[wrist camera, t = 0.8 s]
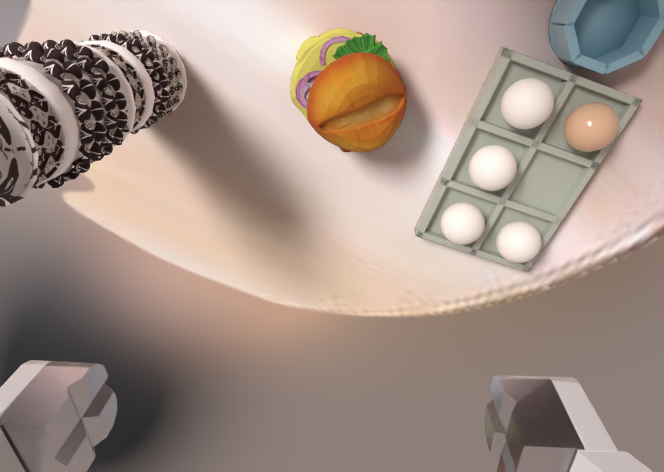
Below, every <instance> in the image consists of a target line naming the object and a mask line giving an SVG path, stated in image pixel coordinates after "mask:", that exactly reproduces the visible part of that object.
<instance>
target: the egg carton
mask: <svg viewBox="0 0 664 472" xmlns="http://www.w3.org/2000/svg"><path fill="white" fill-rule="evenodd" d="M641 101H642V100H641V99H639V98H636V97H633V96H631V95H628V94H625V93H623V92H620V91H617V90H615V89H612V88H610V87H607V86H604V85H602V84H599V83H596V82H594V81H591V80H588V79H586V78H583V77H580V76H578V75H575V74H573V73H570V72H567V71H565V70H562V69H559V68H557V67H554V66H551V65H549V64H546V63H543V62H541V61H538V60H536V59H533V58H530V57H528V56H525V55H522V54H520V53H517V52H514V51H512V50H509V49H506V48H504V47H501V49H500V51H499V53H498V55H497V58H496V60H495V62H494V64H493V66H492V68H491V70H490V72H489V74H488V76H487V78H486V80H485V82H484V85H483V87H482V89H481V91H480V93H479V95H478V97H477V99H476V101H475V103H474V105H473V107H472V109H471V112H470V114H469V116H468V118H467V120H466V122H465V124H464V126H463V128H462V130H461V132H460V134H459V137H458V139H457V141H456V143H455V145H454V147H453V149H452V151H451V153H450V155H449V157H448V159H447V161H446V164H445V166H444V168H443V170H442V172H441V174H440V176H439V178H438V180H437V182H436V184H435V186H434V188H433V191H432V193H431V195H430V197H429V199H428V201H427V203H426V205H425V207H424V209H423V211H422V213H421V216H420V218H419V220H418V222H417V224H416V226H415V228H414V230H415V234H416V236H418V237H421V238H424V239H427V240H430V241H433V242H436V243H439V244H442V245H445V246H448V247H451V248H455V249H458V250H461V251H464V252H467V253H470V254H473V255H476V256H479V257H482V258H485V259H488V260H491V261H495V262H498V263H501V264H504V265H507V266H510V267H513V268H516V269H519V270H522V271H525V272H528V271H529V270H530V268H531V267H532V265H533V264H534V262H535V261H536V259H537V258H538V256H539V255H540V253H541V252H542V250H543V249H544V247H545V246H546V244H547V243H548V241H549V240H550V238H551V237H552V235H553V234H554V232H555V231H556V229H557V227H558V226H559V224H560V223H561V221H562V220H563V218H564V217H565V215H566V214H567V212H568V211H569V209H570V208H571V206H572V205H573V203H574V202H575V200H576V199H577V197H578V196H579V194H580V193H581V191H582V190H583V188H584V187H585V185H586V184H587V182H588V181H589V179H590V178H591V176H592V175H593V173H594V172H595V170H596V169H597V167H598V166H599V164H600V163H601V161H602V160H603V158H604V157H605V155H606V154H607V152H608V151H609V149H610V148H611V146H612V145H613V143H614V142H615V140H616V139H617V137H618V136H619V134H620V133H621V131H622V130H623V128H624V127H625V125H626V124H627V122H628V121H629V119H630V118H631V116H632V115H633V113H634V112H635V110H636V109H637V107H638V106H639V104H640V103H641ZM590 102H599V103H603V104H606V105H608V106H610V107H611V108H612V109H613V110H614V111H615V112H616V114H617V116H618V119H619V129H618V132H617V135H616V136H615V138H614V139H613V140H612V142H611V143H609V144H608V145H607V146H606V147H604V148H602V149H600V150H597V151H592V152H584V151H579V150H576V149H574V148H573V147H571V146H570V145H569V144H568V143H567V141H566V139H565V137H564V134H563V126H564V122H565V120H566V118H567V116H568V115H569V114H570V113H571V112H572V111H573V110H574V109H575V108H577V107H578V106H580V105H582V104H585V103H590Z"/></svg>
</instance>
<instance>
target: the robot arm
mask: <svg viewBox="0 0 664 472" xmlns="http://www.w3.org/2000/svg"><path fill="white" fill-rule="evenodd" d="M107 378H108V375H107V372H106V370H105V367H104V365H100V364H96V363H77V362H59V361H36V360H31V361H29V362H26V363H24V364H22V365H21V366H20V367H19V368H18V370H17V371H16V372H15V373H14V374H13V375H12V376H11V377H10V378H9V379H8V380H7V381H6V382H5V384H4V385H3V386H2V387H1V388H0V472H86V471H87V470H88V468H89V466H90V464H91V463H92V461H93V460H94V458H95V452H94V446H95V445H96V444H98V443H99V442H101V441H102V440H103V439H105V438H106V437H107V435H108V434H109V432H110V430H111V428H112V426H113V424H114V421H115V417H116V413H117V399H116V396H115V393H114V391H112V390H111V389H110V388H109V387H108V386H106V385H105V384H104V383H105V381H106V379H107ZM490 391H491V394H492V397H493V400H492V401H491V402H489V403H488V404H487V405H486V411H485V434H486V440H487V444H488V448H489V452H490V454H491V455H492V456H493V457H494V458H495V459H496V460H497V461H498V462H499V464H498V468H497V472H653V471H651V470H650V469H649V468H647V467H646V466H645V465H643V464H642V463H641V462H639V461H638V460H637V459H636V458H634V457H633V456H632V455H630V454H629V453H628V452H621V451H618V450H617V448H616V447H615V445H614V443H613V441H612V440H611V438H610V436H609V434H608V433H607V431H606V429H605V427H604V425H603V424H602V422H601V420H600V418H599V417H598V415H597V413H596V411H595V410H594V408H593V406H592V404H591V403H590V401H589V399H588V397H587V396H586V394H585V392H584V390H583V389H582V387H581V385H580V383H579V382H578V381H577V380H576V379H575V378H574V377H541V376H496V375H495V376H494V378H493V379H492V382H491V387H490Z"/></svg>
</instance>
